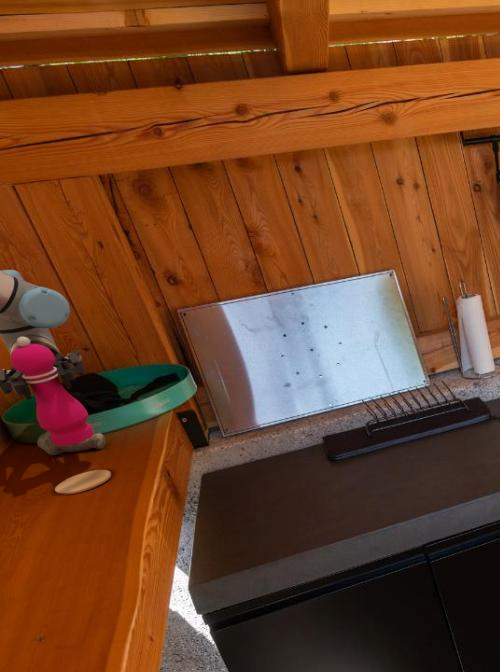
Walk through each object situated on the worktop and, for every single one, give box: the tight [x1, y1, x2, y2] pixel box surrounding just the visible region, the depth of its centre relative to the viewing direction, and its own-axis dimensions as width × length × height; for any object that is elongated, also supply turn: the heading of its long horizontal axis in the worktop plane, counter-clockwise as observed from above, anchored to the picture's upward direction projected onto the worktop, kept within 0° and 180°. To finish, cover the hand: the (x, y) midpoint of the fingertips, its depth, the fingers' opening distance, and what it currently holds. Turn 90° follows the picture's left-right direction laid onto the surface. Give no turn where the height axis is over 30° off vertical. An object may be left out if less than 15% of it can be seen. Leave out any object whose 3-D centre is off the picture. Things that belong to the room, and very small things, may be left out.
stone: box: [37, 430, 106, 456], centre depth 149 cm, size 10×5×8 cm
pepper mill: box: [9, 337, 95, 446], centre depth 137 cm, size 7×7×20 cm
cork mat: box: [54, 469, 112, 496], centre depth 138 cm, size 8×8×1 cm
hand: (46, 386), depth 133 cm, fingers closed on pepper mill, 5 cm apart
